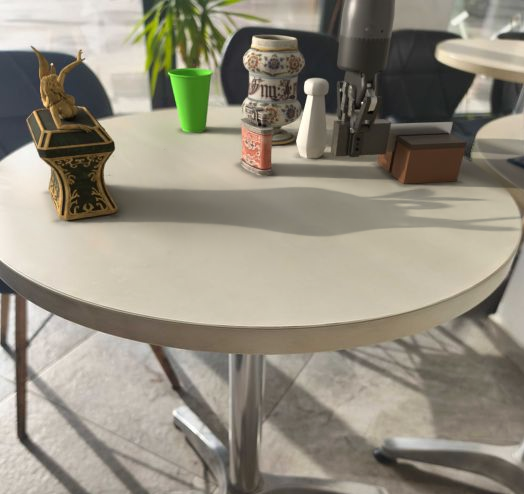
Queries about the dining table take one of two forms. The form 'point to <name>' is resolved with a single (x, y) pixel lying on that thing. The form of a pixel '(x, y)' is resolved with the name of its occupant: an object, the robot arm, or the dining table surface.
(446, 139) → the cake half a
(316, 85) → the salt shaker
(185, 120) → the cup
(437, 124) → the knife
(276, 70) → the apothecary jar
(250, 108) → the lighter
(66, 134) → the decorative box
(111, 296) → the dining table surface
